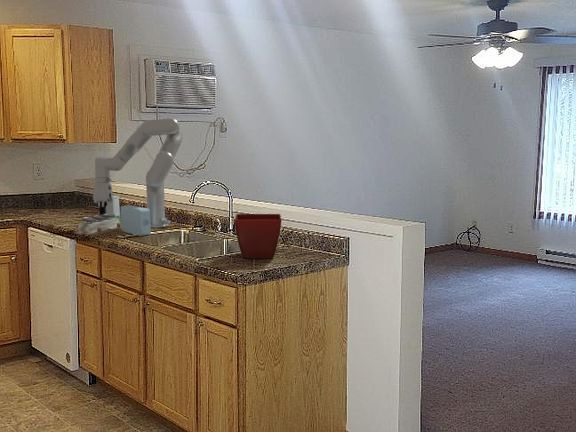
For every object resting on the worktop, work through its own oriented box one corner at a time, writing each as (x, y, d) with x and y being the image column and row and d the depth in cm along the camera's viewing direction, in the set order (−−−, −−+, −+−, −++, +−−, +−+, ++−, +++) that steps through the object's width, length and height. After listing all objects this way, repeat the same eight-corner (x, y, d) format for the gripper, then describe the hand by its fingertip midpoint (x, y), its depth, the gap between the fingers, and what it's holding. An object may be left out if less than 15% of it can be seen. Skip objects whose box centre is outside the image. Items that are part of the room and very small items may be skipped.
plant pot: (280, 251, 302) (280, 213, 300) (281, 260, 283) (281, 219, 281) (236, 252, 301) (236, 213, 299) (235, 260, 282) (234, 219, 280)
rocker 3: (115, 218, 372) (115, 214, 372) (111, 219, 369) (110, 215, 368) (106, 217, 374) (106, 213, 374) (101, 218, 371) (101, 214, 371)
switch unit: (127, 227, 373) (127, 218, 373) (96, 235, 350) (95, 225, 349) (106, 226, 379) (106, 217, 378) (74, 233, 355) (73, 223, 355)
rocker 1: (95, 223, 357) (96, 219, 357) (91, 224, 354) (91, 220, 354) (86, 220, 360) (86, 216, 359) (81, 221, 356) (82, 217, 356)
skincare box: (114, 224, 386) (113, 196, 384) (103, 224, 387) (101, 196, 385) (120, 222, 394) (119, 195, 392) (109, 222, 396) (108, 195, 394)
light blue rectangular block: (119, 231, 363) (118, 206, 362) (130, 230, 367) (129, 205, 365) (140, 236, 345) (139, 210, 344) (150, 235, 349) (149, 209, 347)
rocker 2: (105, 221, 365) (106, 217, 364) (101, 221, 361) (101, 218, 361) (96, 218, 367) (96, 214, 367) (92, 219, 364) (92, 215, 363)
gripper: (118, 180, 370) (118, 214, 372) (95, 179, 376) (96, 212, 379) (109, 181, 363) (109, 216, 366) (86, 179, 369) (86, 214, 372)
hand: (102, 214), depth 372 cm, fingers closed
